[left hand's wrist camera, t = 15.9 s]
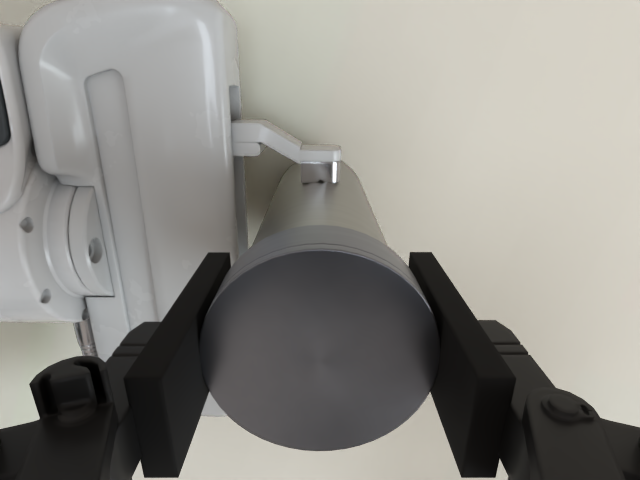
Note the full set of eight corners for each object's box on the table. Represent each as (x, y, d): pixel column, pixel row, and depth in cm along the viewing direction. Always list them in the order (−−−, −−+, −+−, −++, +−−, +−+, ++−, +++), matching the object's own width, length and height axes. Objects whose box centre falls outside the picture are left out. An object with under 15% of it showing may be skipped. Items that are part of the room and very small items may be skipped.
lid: (170, 302, 12) (146, 339, 10) (345, 179, 11) (350, 196, 9) (299, 434, 14) (297, 483, 12) (462, 342, 13) (484, 382, 11)
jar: (337, 138, 24) (362, 215, 10) (378, 215, 26) (452, 376, 12) (259, 183, 25) (178, 312, 11) (304, 254, 27) (286, 448, 13)
